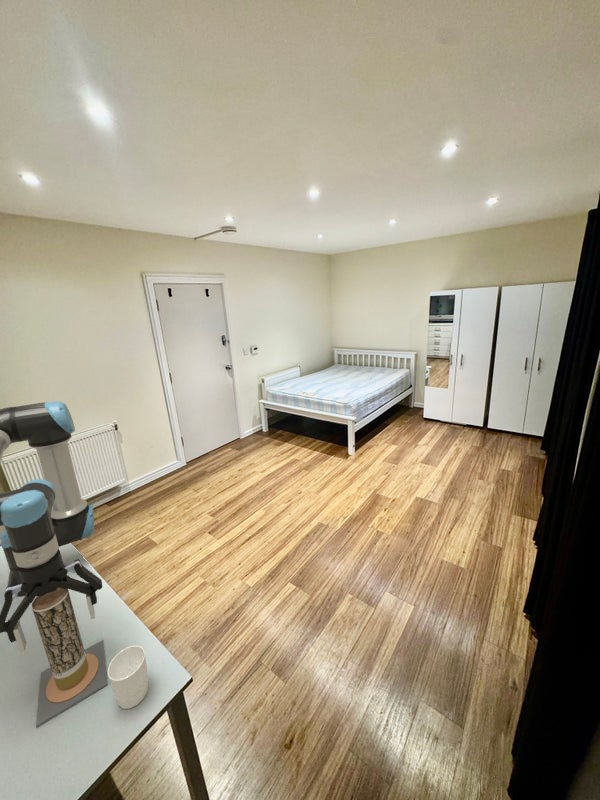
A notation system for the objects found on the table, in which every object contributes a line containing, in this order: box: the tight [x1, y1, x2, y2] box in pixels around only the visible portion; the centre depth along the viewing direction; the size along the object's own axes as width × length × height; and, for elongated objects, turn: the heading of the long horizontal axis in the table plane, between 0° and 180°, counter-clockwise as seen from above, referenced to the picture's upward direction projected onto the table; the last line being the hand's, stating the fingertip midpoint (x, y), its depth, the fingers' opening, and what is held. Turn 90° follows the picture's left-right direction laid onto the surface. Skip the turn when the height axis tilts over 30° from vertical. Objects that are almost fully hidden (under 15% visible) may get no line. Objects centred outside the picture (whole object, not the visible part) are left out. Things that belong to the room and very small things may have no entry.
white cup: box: [107, 645, 150, 710], centre depth 74 cm, size 8×8×10 cm
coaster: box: [35, 639, 109, 728], centre depth 79 cm, size 14×14×1 cm
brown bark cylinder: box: [31, 588, 88, 689], centre depth 76 cm, size 7×7×25 cm
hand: (60, 630), depth 75 cm, fingers open, 13 cm apart
